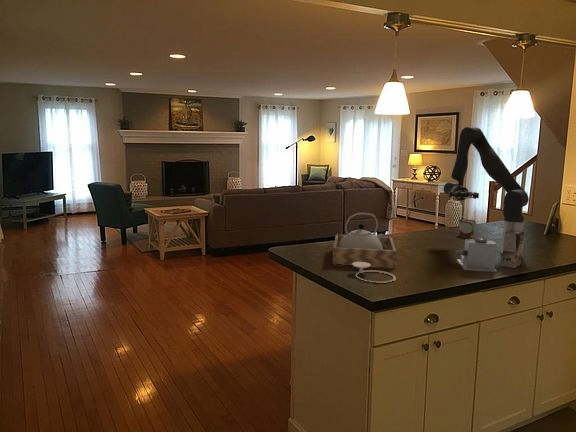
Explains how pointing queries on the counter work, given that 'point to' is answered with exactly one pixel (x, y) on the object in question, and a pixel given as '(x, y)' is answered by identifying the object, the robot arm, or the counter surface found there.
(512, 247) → the coffee box
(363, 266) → the hand towel holder
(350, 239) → the kettle
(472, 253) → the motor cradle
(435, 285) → the counter surface
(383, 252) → the kettle caddy
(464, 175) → the robot arm
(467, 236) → the food container
